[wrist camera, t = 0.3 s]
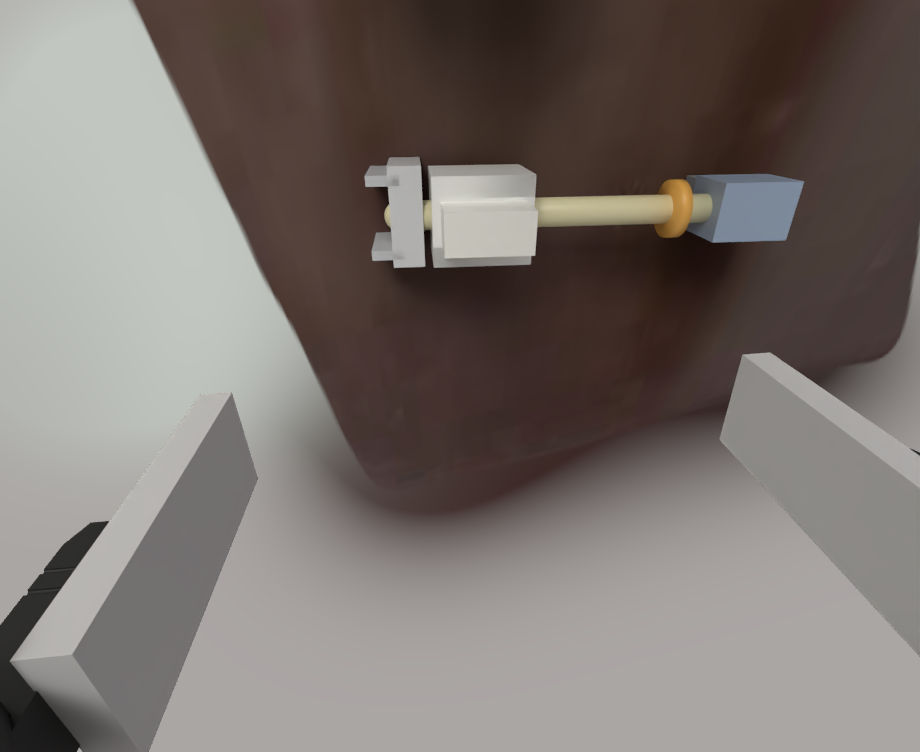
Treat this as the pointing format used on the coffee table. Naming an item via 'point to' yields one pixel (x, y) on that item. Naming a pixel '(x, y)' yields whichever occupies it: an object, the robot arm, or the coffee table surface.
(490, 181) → the white stepped block
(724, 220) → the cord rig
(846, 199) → the coffee table surface
